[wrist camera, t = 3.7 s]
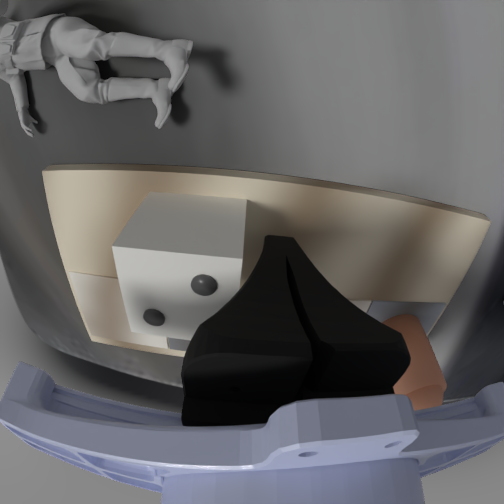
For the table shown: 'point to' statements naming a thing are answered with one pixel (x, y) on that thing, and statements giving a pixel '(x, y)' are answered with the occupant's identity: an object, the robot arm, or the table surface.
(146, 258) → the die
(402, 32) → the table surface
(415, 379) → the pawn
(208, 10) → the table surface
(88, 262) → the board
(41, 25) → the soldier figure
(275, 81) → the table surface
